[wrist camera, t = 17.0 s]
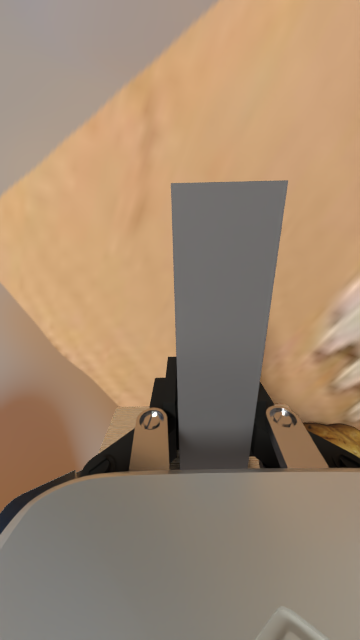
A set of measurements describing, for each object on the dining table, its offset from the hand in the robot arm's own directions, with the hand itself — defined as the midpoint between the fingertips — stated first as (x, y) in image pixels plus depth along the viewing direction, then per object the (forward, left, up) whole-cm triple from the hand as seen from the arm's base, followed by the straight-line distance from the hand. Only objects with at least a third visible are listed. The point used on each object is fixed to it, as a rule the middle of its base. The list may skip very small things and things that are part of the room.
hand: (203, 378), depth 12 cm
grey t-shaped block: (0, -3, -1) cm, 3 cm away
